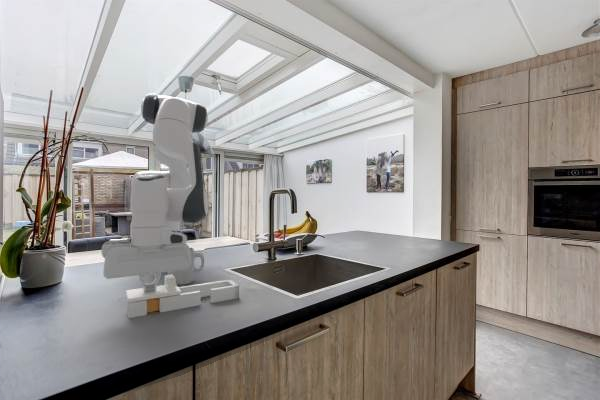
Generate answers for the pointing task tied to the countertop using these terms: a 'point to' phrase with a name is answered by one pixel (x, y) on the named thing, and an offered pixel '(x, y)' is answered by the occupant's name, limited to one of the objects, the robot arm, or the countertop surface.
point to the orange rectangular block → (152, 304)
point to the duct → (189, 297)
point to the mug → (188, 270)
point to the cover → (155, 291)
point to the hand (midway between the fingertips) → (149, 290)
